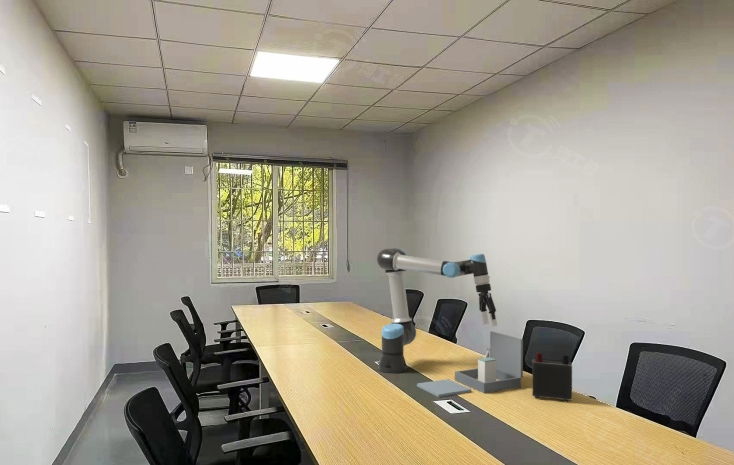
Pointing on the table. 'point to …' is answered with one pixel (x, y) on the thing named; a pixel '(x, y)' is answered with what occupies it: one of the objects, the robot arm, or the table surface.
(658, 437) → the table surface
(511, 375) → the case
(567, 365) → the voltmeter
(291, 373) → the table surface
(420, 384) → the pad
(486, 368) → the block
